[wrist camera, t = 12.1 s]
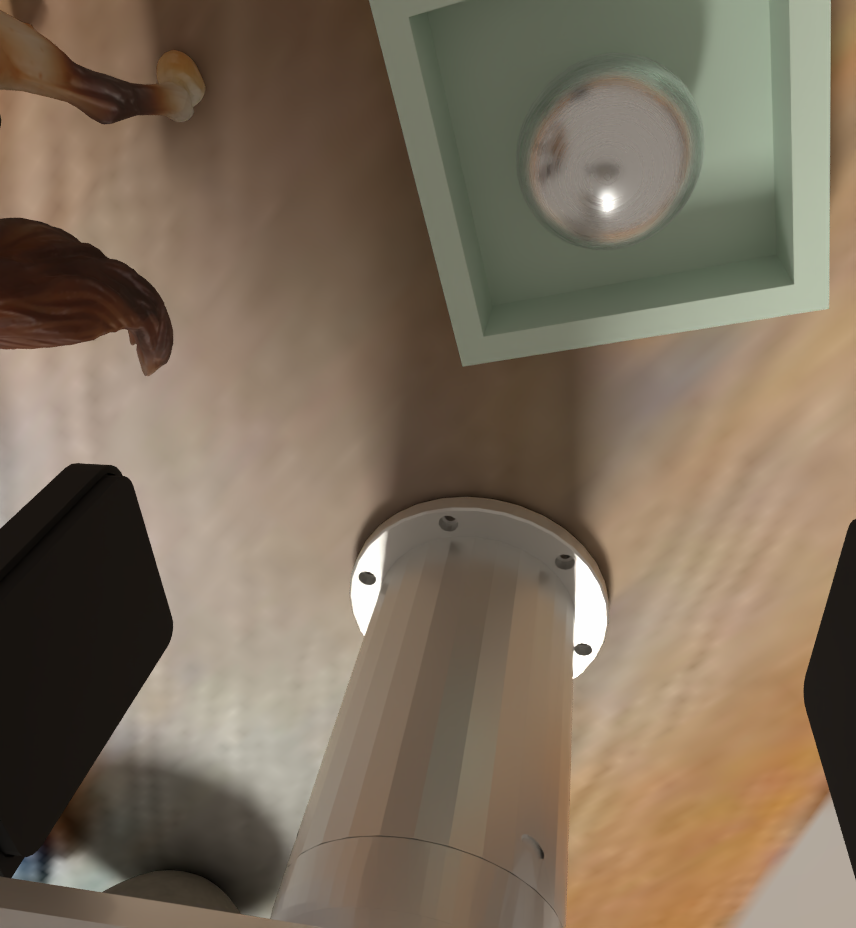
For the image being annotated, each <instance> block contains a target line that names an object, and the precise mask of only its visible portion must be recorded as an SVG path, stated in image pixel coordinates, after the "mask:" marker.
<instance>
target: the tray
mask: <svg viewBox="0 0 856 928" xmlns="http://www.w3.org/2000/svg"><path fill="white" fill-rule="evenodd" d="M369 2H370V6H371V10H372V14H373V18H374V22H375V26H376V30H377V34H378V38H379V42H380V45H381V49H382V53H383V57H384V61H385V65H386V69H387V73H388V77H389V81H390V85H391V89H392V93H393V96H394V100H395V104H396V108H397V112H398V116H399V120H400V124H401V128H402V132H403V136H404V140H405V143H406V147H407V151H408V155H409V159H410V163H411V167H412V171H413V175H414V179H415V183H416V187H417V190H418V194H419V198H420V202H421V206H422V210H423V214H424V218H425V222H426V226H427V230H428V234H429V238H430V241H431V245H432V249H433V253H434V257H435V261H436V265H437V269H438V273H439V277H440V281H441V285H442V288H443V292H444V296H445V300H446V304H447V308H448V312H449V316H450V320H451V324H452V328H453V332H454V336H455V339H456V343H457V347H458V351H459V355H460V359H461V363H462V367H464V366H470V365H476V364H483V363H489V362H495V361H502V360H508V359H514V358H521V357H527V356H533V355H540V354H546V353H552V352H558V351H565V350H571V349H577V348H584V347H590V346H596V345H603V344H609V343H615V342H622V341H628V340H634V339H641V338H647V337H653V336H659V335H666V334H672V333H678V332H685V331H691V330H697V329H704V328H710V327H716V326H723V325H729V324H735V323H741V322H748V321H754V320H760V319H767V318H773V317H779V316H786V315H792V314H798V313H805V312H811V311H817V310H823V309H829V237H830V68H831V0H369ZM606 53H629V54H636V55H640V56H643V57H647V58H649V59H651V60H654V61H656V62H658V63H660V64H662V65H663V66H665V67H666V68H668V69H669V70H671V71H672V72H673V73H674V74H675V75H676V76H678V77H679V78H680V80H681V81H682V82H683V83H684V84H685V85H686V86H687V88H688V90H689V91H690V93H691V94H692V96H693V97H694V100H695V102H696V104H697V106H698V109H699V112H700V115H701V119H702V123H703V130H704V148H705V150H704V158H703V164H702V168H701V172H700V176H699V178H698V181H697V184H696V186H695V188H694V190H693V192H692V194H691V196H690V198H689V200H688V201H687V203H686V204H685V205H684V207H683V208H682V210H681V211H680V212H679V213H678V215H677V216H676V217H675V218H674V219H673V220H672V221H671V222H670V223H669V224H668V225H667V226H665V227H664V228H663V229H662V230H660V231H659V232H658V233H656V234H655V235H653V236H652V237H650V238H648V239H646V240H644V241H642V242H640V243H637V244H635V245H632V246H629V247H625V248H621V249H614V250H591V249H584V248H580V247H577V246H573V245H571V244H569V243H566V242H564V241H562V240H561V239H559V238H557V237H555V236H554V235H553V234H551V233H550V232H549V231H547V230H546V229H545V228H544V227H543V226H542V225H541V224H540V223H539V222H538V221H537V219H536V218H535V217H534V215H533V214H532V213H531V211H530V209H529V207H528V205H527V204H526V202H525V200H524V197H523V195H522V192H521V190H520V186H519V182H518V178H517V170H516V151H517V143H518V137H519V133H520V130H521V126H522V123H523V121H524V118H525V116H526V113H527V112H528V110H529V108H530V106H531V104H532V102H533V101H534V100H535V98H536V97H537V95H538V94H539V92H540V91H541V90H542V89H543V88H544V87H545V86H546V85H547V83H548V82H549V81H551V80H552V79H553V78H554V77H555V76H556V75H558V74H559V73H560V72H562V71H563V70H565V69H566V68H568V67H569V66H571V65H573V64H575V63H577V62H579V61H581V60H583V59H586V58H589V57H592V56H595V55H601V54H606Z"/></svg>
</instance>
